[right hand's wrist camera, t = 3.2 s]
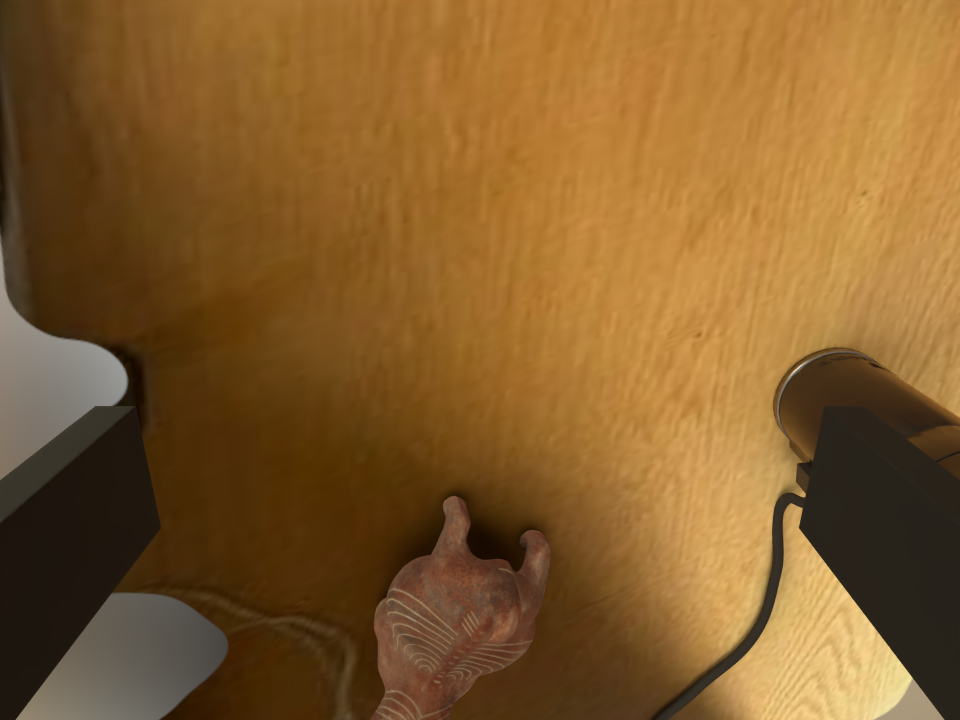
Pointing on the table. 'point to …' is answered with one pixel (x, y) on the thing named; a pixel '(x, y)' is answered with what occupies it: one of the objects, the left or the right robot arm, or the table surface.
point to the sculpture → (454, 620)
